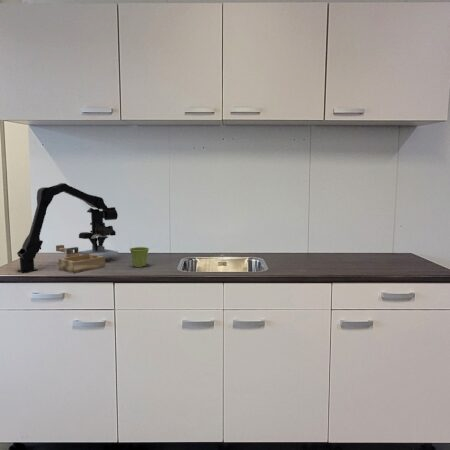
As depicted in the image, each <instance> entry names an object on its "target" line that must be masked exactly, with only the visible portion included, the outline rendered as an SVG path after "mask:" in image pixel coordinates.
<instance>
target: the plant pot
mask: <svg viewBox="0 0 450 450" xmlns="http://www.w3.org/2000/svg"><path fill="white" fill-rule="evenodd" d="M149 250H150V247H145V246H138V247H137V246H136V247H131V248H129V252H130V254H131V259H132V266H133V267H136V268H143V267H146V266H147V261H148V260H147V259H148V253H149Z"/></svg>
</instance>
